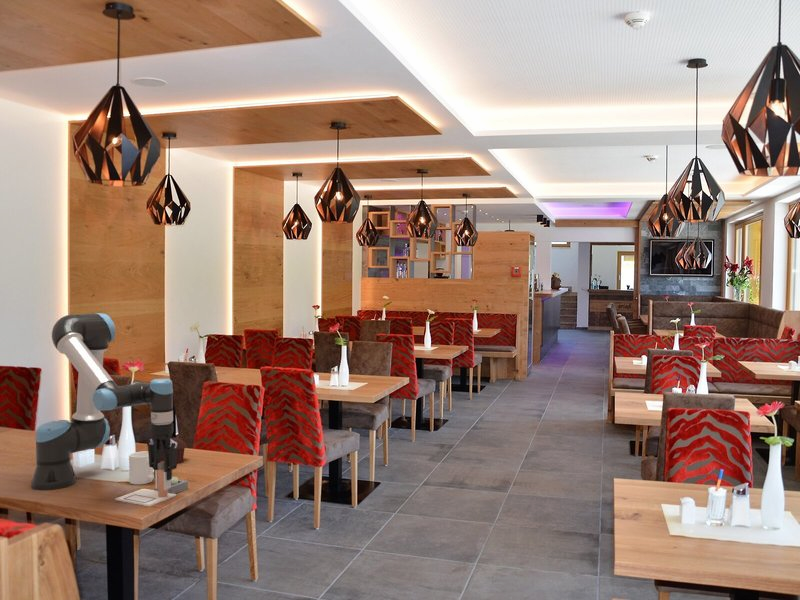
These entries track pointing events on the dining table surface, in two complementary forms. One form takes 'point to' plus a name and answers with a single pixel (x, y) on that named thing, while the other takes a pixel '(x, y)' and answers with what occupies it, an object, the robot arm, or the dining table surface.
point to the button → (174, 480)
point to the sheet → (144, 497)
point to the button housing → (178, 487)
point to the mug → (140, 468)
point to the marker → (161, 480)
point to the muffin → (178, 450)
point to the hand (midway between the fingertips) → (163, 488)
